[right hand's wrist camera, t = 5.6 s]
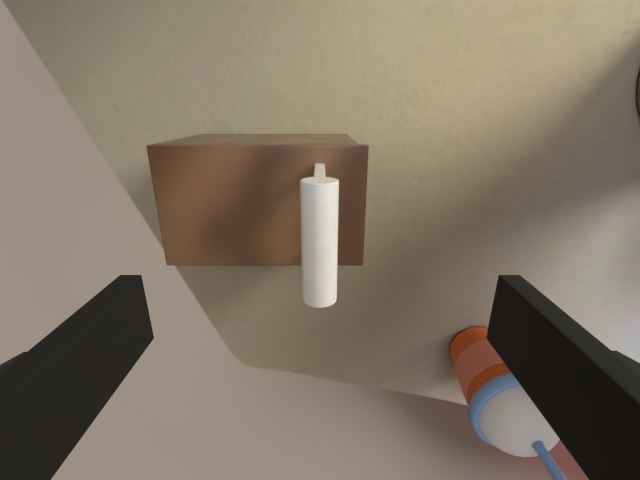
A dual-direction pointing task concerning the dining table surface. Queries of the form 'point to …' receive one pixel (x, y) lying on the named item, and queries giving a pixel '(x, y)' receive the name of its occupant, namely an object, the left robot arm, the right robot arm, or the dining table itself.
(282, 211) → the lid
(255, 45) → the dining table surface
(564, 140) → the dining table surface
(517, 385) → the cup with straw
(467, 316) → the dining table surface
